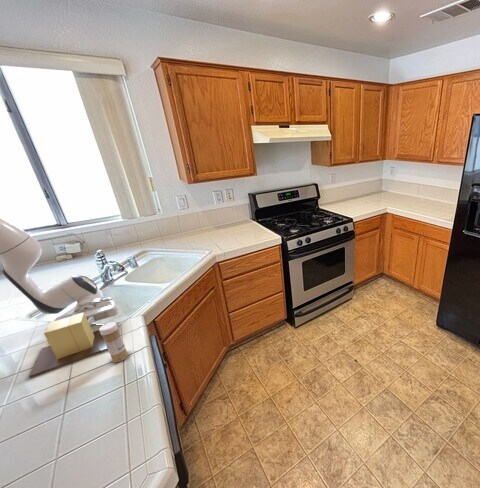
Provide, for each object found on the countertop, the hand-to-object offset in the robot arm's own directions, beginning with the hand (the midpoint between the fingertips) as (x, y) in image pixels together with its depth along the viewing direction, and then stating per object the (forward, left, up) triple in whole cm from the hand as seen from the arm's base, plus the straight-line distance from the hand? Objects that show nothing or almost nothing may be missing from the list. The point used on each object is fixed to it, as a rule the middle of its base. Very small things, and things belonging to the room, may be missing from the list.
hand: (84, 326), depth 99 cm
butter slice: (0, -5, -5) cm, 7 cm away
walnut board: (-3, -5, -6) cm, 8 cm away
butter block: (-5, -5, -5) cm, 8 cm away
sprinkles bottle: (+10, -21, -6) cm, 24 cm away
